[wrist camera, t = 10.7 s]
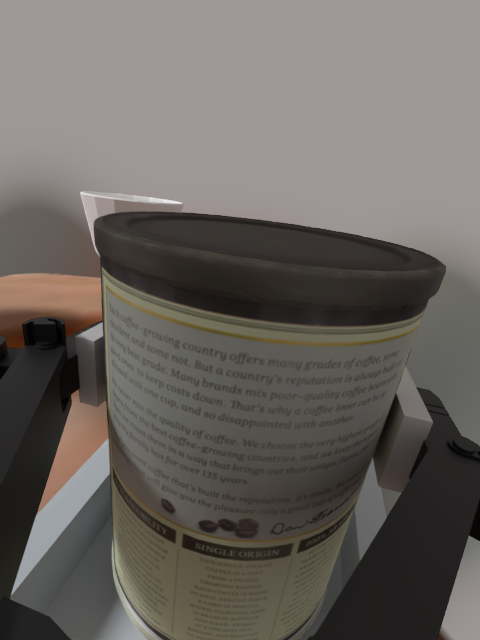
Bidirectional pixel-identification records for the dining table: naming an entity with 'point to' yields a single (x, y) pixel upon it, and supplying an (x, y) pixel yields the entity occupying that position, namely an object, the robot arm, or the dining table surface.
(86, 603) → the tray
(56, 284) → the dining table surface
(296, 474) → the coffee can
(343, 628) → the robot arm
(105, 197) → the cup
